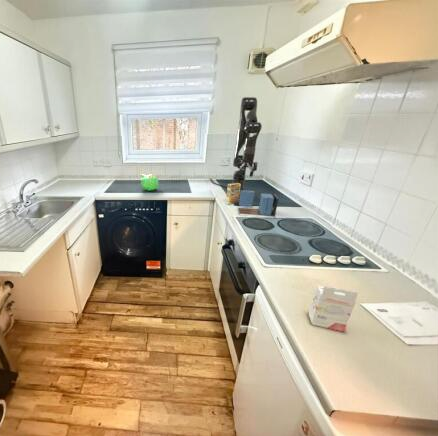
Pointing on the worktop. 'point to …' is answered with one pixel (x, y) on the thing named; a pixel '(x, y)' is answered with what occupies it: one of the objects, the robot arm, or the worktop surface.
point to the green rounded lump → (149, 182)
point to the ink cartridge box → (332, 307)
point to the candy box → (233, 193)
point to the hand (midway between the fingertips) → (245, 175)
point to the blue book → (246, 198)
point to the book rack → (255, 211)
